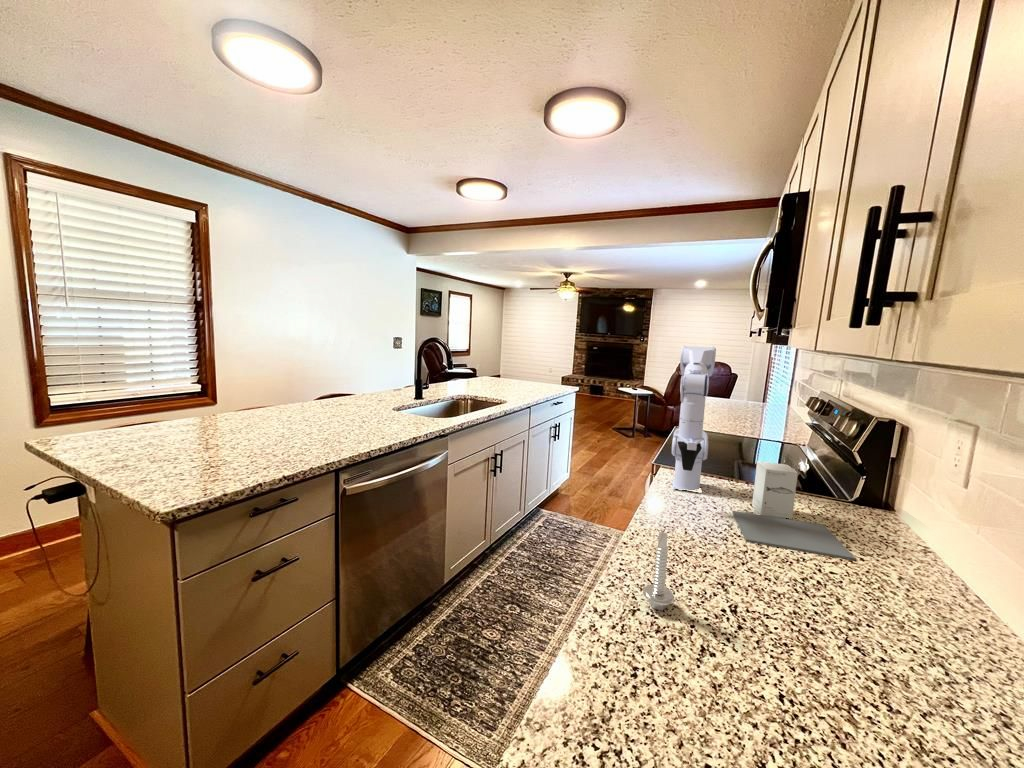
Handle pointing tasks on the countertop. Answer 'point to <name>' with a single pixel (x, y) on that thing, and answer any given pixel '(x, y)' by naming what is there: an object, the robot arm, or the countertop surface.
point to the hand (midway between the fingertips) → (687, 469)
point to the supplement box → (774, 489)
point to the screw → (659, 578)
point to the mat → (790, 534)
